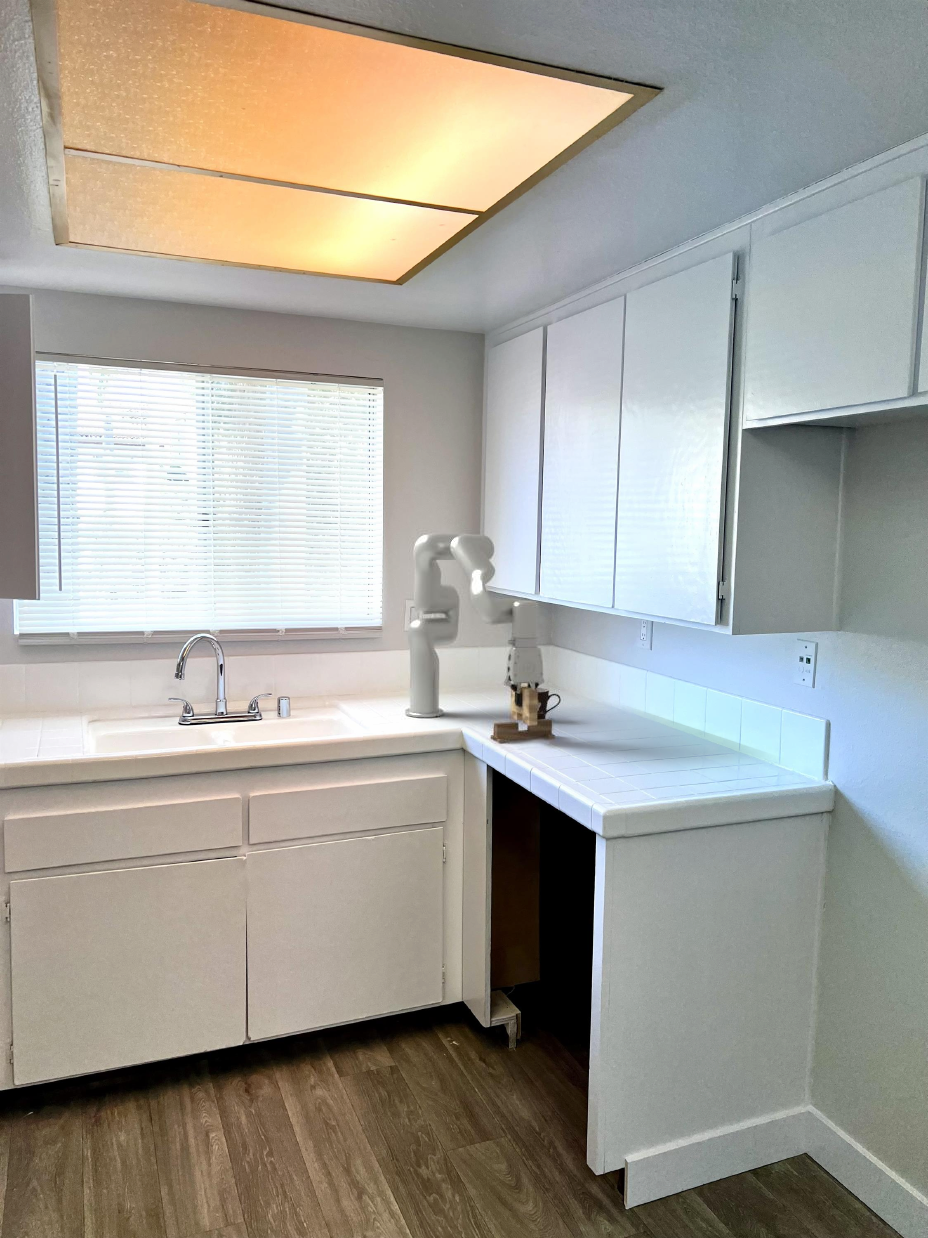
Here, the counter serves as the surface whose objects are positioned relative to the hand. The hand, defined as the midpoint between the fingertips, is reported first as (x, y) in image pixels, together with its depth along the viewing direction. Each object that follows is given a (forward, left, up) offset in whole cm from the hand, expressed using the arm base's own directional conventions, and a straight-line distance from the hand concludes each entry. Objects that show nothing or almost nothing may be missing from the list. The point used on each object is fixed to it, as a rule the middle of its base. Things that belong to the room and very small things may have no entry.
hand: (523, 705), depth 264 cm
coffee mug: (-20, +16, -10) cm, 28 cm away
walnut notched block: (0, 0, -10) cm, 10 cm away
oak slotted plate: (0, 0, -5) cm, 5 cm away
